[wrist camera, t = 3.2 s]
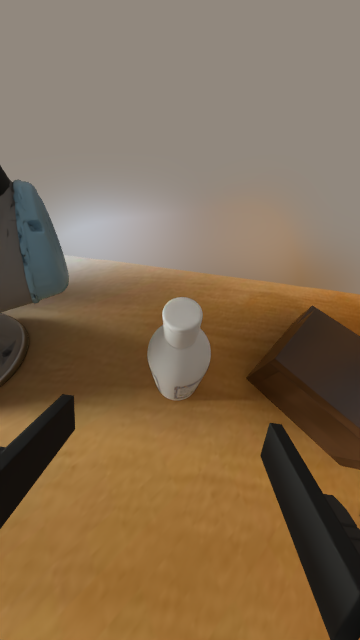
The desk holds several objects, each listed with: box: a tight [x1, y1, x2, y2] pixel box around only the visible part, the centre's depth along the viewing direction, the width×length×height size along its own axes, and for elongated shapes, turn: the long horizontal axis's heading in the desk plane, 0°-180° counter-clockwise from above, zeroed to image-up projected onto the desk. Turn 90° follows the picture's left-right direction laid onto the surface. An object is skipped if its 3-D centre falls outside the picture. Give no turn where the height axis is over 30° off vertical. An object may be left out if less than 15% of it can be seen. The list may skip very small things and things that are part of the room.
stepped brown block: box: [247, 306, 360, 470], centre depth 27 cm, size 16×17×10 cm
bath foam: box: [147, 297, 211, 400], centre depth 22 cm, size 7×7×20 cm
